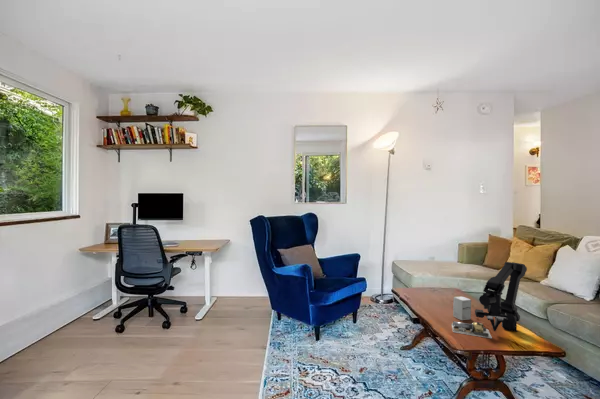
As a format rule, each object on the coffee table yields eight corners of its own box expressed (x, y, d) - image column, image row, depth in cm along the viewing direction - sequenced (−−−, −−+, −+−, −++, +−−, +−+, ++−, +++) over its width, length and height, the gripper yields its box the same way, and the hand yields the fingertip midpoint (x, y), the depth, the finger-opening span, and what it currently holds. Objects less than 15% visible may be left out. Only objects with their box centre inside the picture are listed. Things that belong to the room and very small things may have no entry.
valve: (482, 330, 173) (482, 320, 173) (484, 334, 169) (484, 323, 169) (472, 328, 176) (472, 318, 176) (473, 332, 171) (473, 322, 171)
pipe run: (487, 329, 175) (488, 322, 175) (492, 338, 164) (492, 330, 164) (451, 324, 183) (451, 316, 183) (452, 332, 172) (453, 324, 172)
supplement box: (461, 320, 188) (462, 300, 188) (452, 316, 195) (453, 296, 195) (471, 319, 190) (471, 299, 190) (462, 315, 197) (462, 295, 197)
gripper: (510, 300, 173) (510, 328, 173) (473, 296, 180) (473, 322, 180) (516, 307, 163) (515, 336, 163) (476, 302, 170) (476, 330, 170)
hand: (494, 330), depth 169 cm, fingers closed
